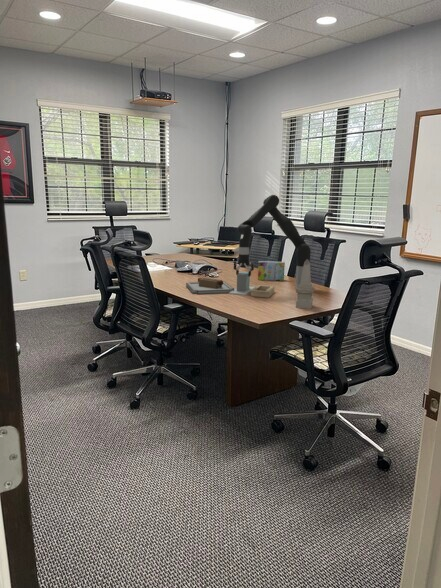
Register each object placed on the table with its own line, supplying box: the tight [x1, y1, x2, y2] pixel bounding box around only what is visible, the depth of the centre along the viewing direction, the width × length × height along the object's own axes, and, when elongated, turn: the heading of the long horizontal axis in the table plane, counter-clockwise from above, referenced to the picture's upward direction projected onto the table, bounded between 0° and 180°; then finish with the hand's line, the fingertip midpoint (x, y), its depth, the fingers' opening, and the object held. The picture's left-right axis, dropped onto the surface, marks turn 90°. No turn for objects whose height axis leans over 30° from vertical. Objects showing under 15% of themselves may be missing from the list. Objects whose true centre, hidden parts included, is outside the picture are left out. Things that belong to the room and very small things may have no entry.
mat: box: [228, 285, 256, 296], centre depth 313 cm, size 12×26×1 cm, turn 161°
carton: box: [250, 284, 276, 299], centre depth 304 cm, size 12×21×4 cm, turn 161°
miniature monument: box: [295, 259, 315, 310], centre depth 270 cm, size 10×10×30 cm
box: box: [236, 271, 251, 292], centre depth 311 cm, size 6×12×12 cm, turn 161°
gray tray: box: [185, 277, 235, 295], centre depth 316 cm, size 30×30×8 cm
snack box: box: [257, 260, 286, 282], centre depth 355 cm, size 21×6×15 cm, turn 84°
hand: (243, 276), depth 310 cm, fingers open, 8 cm apart
